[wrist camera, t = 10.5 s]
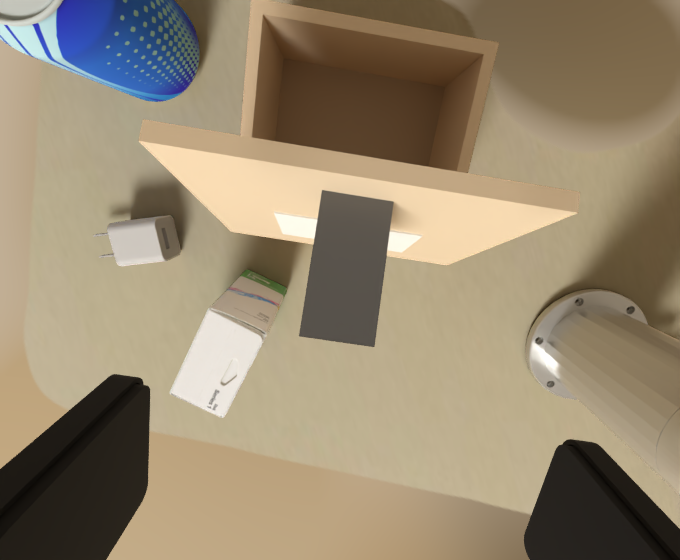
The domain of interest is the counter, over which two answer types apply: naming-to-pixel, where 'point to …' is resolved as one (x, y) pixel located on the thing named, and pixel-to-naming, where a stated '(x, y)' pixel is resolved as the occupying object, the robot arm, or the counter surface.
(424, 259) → the tan labeled panel
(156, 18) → the beer can
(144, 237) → the usb wall charger
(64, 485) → the robot arm
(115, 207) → the counter surface
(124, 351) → the counter surface
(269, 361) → the counter surface
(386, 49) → the carton
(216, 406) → the ink box
